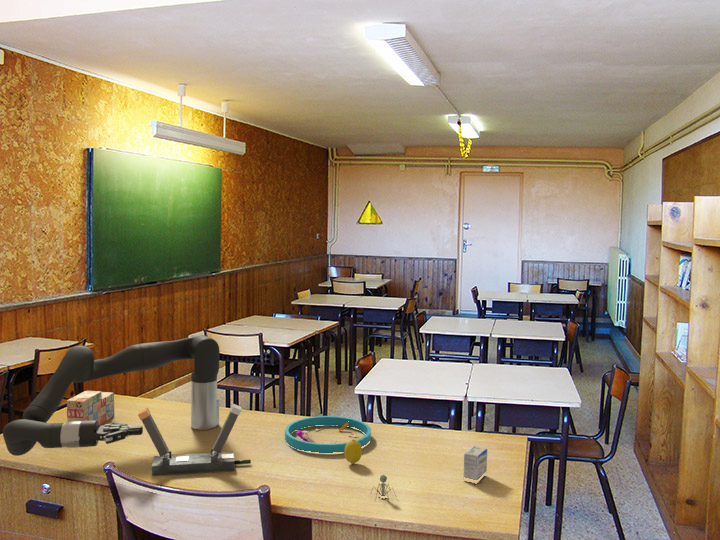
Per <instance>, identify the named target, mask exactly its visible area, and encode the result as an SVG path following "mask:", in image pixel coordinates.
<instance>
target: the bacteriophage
mask: <svg viewBox="0 0 720 540" xmlns="http://www.w3.org/2000/svg"><path fill="white" fill-rule="evenodd" d="M387 479H388V477H387V476H386V475H385V474H381V475H380V478H379V481H380V482H381V483H378V486H377V487H374V488H372V489H371V491H370V494H369V495H371V494H372V491H373V489H375V490H376V493H378V494H379V495H381V494H382V495H381V496H384V494H385V495H386V496H387V495H389V492H390V491H391V490H393V487H390V485H389V483H387V484H386V482H387ZM379 488H380V489H379ZM387 489H389V490H387ZM379 490H380V491H379ZM393 492H394V495H395V496H397V495H396V494H397V493H396V492H395V491H393ZM378 494H375V495H376V496H375V499H374V501H375V500H377V498H378V497H377V495H378ZM388 500H389V497H388V498H387V501H388ZM389 501H390V500H389Z"/></svg>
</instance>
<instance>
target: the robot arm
mask: <svg viewBox="0 0 720 540" xmlns="http://www.w3.org/2000/svg"><path fill="white" fill-rule="evenodd" d="M220 358H221V357H220V346H219V344H218V342H217V341H216V340H215V339H214V338H212V337H210V336H207V335H204V334H200V335H195V336H190V337H186V338H181V339H176V340H170V341H169V340H167V341H165V340H164V341H156V342H155V341H153V342H143V343H138V344H133V345H129V346H127V347H125V348H124V349H121V350H120V351H117V352H116V353H114V354H113V355H110V356H108V357H105V358H99V359H95V354H94V352H93V350H92V349H91V348H90V347H88V346H85V345H75V346H72V347H71V348H69V349H68V350H67V351H66V352H65V354H64V355H63V357H62V359H61V361H60V363H59V364H58V366H57V368H56V369H55V371H54V373H53V374H52V376H51V377H50V379H49V380H48V382H47V383H46V384H45V385H44V387H43V388H42V389H41V391H39V393H38V394H37V395H36V397H35V398H34V399H33V400H32V401H31V402H30V404H29V405H28V406H27V407H26V408H25V410H24V411H23V414H22V418H21V419H16V420H15V419H14V420H12V421H10V422H7V423H6V424H5V426H3V429H2V436H3V440H4V443H5V447H6V449H7V451H8V453H9V454H11V455H12V456H18V457H19V456H24V455H25V454H28V453H29V452H30V451H31V450H32V449H33V448H34V446H35V445H37V443H38V444H39V445H40V446H41V447H42V448H44V449H58V448H59V449H60V448H67V449H68V448H71V449H73V448H76V449H77V448H90V447H97V446H98V444H99V442H100V441H101V442H105V444H107V445H109V444H112V443H116V442H119V441H122V440H126V438H128V437H129V436H130V437H131V436H142V435H143V431H144V428H143V426H142V425H139V426H138V425H137V426H130V425H129V424H128V423H125V422H122V421H121V422H120V421H116V420H114V421H112V422H111V423H105V424H104V425H103V424H101V425H99V422H98V421H97V420H87V421H71V422H67V421H66V422H65V421H64V422H51V423H49V422H48V421H49V420H50V419H51V417H52V416H53V415H54V414H55V413H56V410H57V409H58V408H59V407H60V405H61V403H62V401H63V399H64V397H65V396H66V393H67V392H68V389H69V387H70V386H71V384H72V383H75V384H77V383H79V384H81V383H85V382H90V381H94V380H99V379H102V378H106V377H111V376H115V375H121V374H127V373H135V372H143V371H149V370H153V369H157V368H160V367H163V366H166V365H168V364H171V363H172V362H176V361H183V360H194V363H193V365H194V368H193V371H192V372H191V375H190V428H191V429H194V430H197V431H198V430H199V431H200V430H201V431H204V430H205V431H206V430H211V429H214V428H216V427H217V426H219V425H220V399H219V398H218V374H219V371H220Z"/></svg>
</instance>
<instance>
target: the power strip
mask: <svg viewBox="0 0 720 540" xmlns="http://www.w3.org/2000/svg"><path fill="white" fill-rule="evenodd" d="M210 450H211V451H210V452H203V453H186V454H172V450H169V451H168V453H169V454H170V455H169V458H165V455H163V456H161V457H160V455H154V456H153V460H152V464H151V477H159V476H173V475H175V476H177V475H189V474H190V475H191V474H206V473H209V474H210V473H221V472H235V471H236V470H235V465H236V466H237V465H249V464H251V463H252V462H251V459H238V460H235V451H221V453H218V452H216V455H212V453H213V447H211V449H210Z"/></svg>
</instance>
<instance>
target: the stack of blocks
mask: <svg viewBox="0 0 720 540" xmlns="http://www.w3.org/2000/svg"><path fill="white" fill-rule="evenodd" d="M114 417H115V393H114V392H108V391H107V392H106V391H102V390H101V391H98V390H97V391H96V390H85V391H83V392H80V393H79V394H77V395H74V396H73V397H71V398H69V399H67V400H66V418H67V420H66V422H71V421H87V420H97V421H98V422H99V425H100V426H102V425H103V424H104V423H105V422H107V421H108V420H110V419H111V418H114Z"/></svg>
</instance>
